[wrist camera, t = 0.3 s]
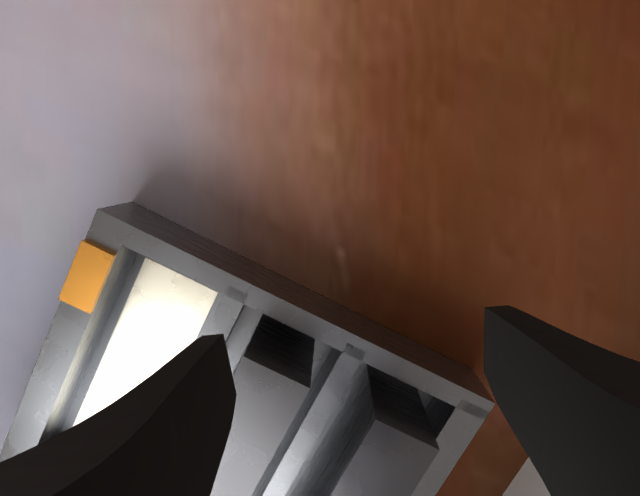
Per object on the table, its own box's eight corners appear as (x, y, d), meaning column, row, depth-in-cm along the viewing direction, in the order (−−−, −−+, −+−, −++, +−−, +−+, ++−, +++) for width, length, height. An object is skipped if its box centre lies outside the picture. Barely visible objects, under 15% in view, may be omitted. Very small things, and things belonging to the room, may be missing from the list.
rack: (337, 584, 26) (338, 701, 21) (29, 448, 25) (-59, 532, 19) (472, 370, 23) (517, 436, 18) (131, 201, 22) (62, 216, 16)
